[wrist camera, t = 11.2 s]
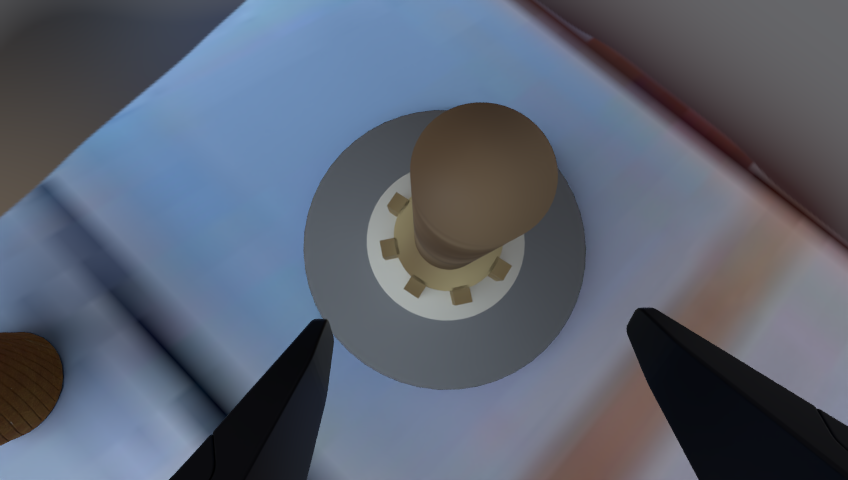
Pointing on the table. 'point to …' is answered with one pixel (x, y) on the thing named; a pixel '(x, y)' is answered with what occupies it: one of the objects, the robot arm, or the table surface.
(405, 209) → the gear
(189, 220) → the table surface
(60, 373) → the disposable coffee cup
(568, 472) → the table surface
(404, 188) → the disc
